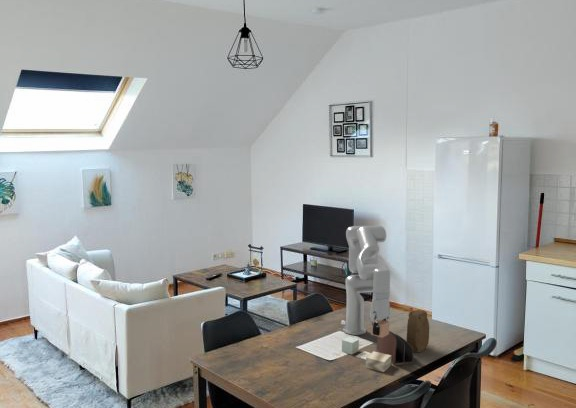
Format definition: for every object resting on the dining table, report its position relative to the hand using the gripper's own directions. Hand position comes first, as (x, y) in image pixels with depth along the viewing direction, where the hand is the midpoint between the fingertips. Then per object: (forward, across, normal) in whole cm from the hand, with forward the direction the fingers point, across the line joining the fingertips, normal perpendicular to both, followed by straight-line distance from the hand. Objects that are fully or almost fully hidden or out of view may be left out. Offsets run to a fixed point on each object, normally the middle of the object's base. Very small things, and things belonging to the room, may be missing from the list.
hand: (379, 332), depth 249 cm
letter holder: (+17, -15, 0) cm, 22 cm away
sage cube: (+16, -6, -20) cm, 27 cm away
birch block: (+17, 0, 0) cm, 17 cm away
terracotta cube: (+1, 0, 0) cm, 1 cm away
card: (+16, -6, -10) cm, 20 cm away
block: (+16, -31, +4) cm, 35 cm away
